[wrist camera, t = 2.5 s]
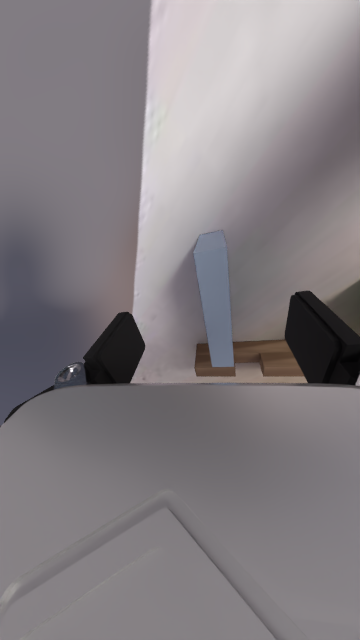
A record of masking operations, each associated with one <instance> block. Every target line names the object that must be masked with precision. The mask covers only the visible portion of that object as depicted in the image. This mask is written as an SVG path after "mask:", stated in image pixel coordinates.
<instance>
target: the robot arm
mask: <svg viewBox="0 0 360 640" xmlns="http://www.w3.org/2000/svg"><path fill="white" fill-rule="evenodd" d="M285 340H286V342H287V344H288V346H289V348H290V350H291V352H292V354H293V355H294V357H295V359H296V361H297V363H298V365H299V367H300V369H301V370H302V372H303V374H304V376H305V378H306V380H307V382H308V383H138V384H130V382H131V380H132V377H133V375H134V373H135V370H136V368H137V366H138V364H139V361H140V359H141V357H142V354H143V352H144V350H145V343H144V341H143V339H142V336H141V334H140V332H139V329H138V327H137V325H136V323H135V320H134V318H133V316H132V314H130V313H129V312H121V313H118V314H117V316H116V317H115V318H114V320H113V321H112V322H111V323H110V324H109V326H108V327H107V328H106V329H105V331H104V332H103V333H102V334H101V336H100V337H99V338H98V339H97V341H96V342H95V343H94V344H93V346H92V347H91V348H90V350H89V351H88V352H87V353H86V354H85V356H84V357H83V359H84V360H85V361H86V362H85V363H84V364H83V363H82V362H75V363H72V364H70V365H68V366H66V367H65V368H64V369H62V370H61V371H60V372H59V373H58V375H57V376H56V378H55V382H54V385H53V386H51V387H50V388H48V389H46V390H44V391H43V392H41V393H39V394H38V395H36V396H34V397H33V398H31V399H29V400H27V401H25V402H24V403H22V404H20V405H18V406H17V407H15V408H14V409H13V410H12V411H11V412H10V414H9V415H8V417H7V418H6V420H5V422H4V424H3V425H2V426H0V640H360V337H359V336H358V335H357V334H356V333H355V332H354V331H353V330H352V329H351V328H350V327H348V326H347V325H346V324H345V323H344V322H343V321H342V320H341V319H340V318H339V317H338V316H337V315H336V314H334V313H333V312H332V311H331V310H330V309H329V308H328V307H327V306H326V305H325V304H324V303H323V302H321V301H320V300H319V299H318V298H317V297H316V296H315V295H314V294H313V293H312V292H311V291H302V292H296V293H295V295H292V296H291V299H290V305H289V311H288V318H287V324H286V330H285Z"/></svg>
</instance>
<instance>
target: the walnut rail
mask: <svg viewBox="0 0 360 640" xmlns="http://www.w3.org/2000/svg"><path fill="white" fill-rule="evenodd" d="M233 358H234V367H212V363H211V357H210V350H209V344H208V343H207V344H197V350H196V359H195V372H196V376H236V375H235V363H248V362H259V363H260V366H261V370H262V374H263V376H304V374H303V372H302V370H301V369H300V367H299V365H298V363H297V361H296V359H295V357H294V355H293V354H292V352H291V350H290V348H289V346H288V344H287V342H286V340H269V341H248V342H233Z"/></svg>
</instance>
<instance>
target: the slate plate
mask: <svg viewBox="0 0 360 640" xmlns="http://www.w3.org/2000/svg"><path fill="white" fill-rule="evenodd" d="M193 254H194V260H195V266H196V272H197V278H198V284H199V290H200V296H201V302H202V308H203V314H204V320H205V326H206V332H207V338H208V344H209V350H210V357H211V363H212V367H234V358H233V341H232V324H231V307H230V290H229V273H228V255H227V245H226V241H225V237H224V233H223V230H221V231H216V232H211V233H207V234H202V235H200V236H199V239H198V241H197V244H196V247H195V250H194V253H193Z"/></svg>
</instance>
